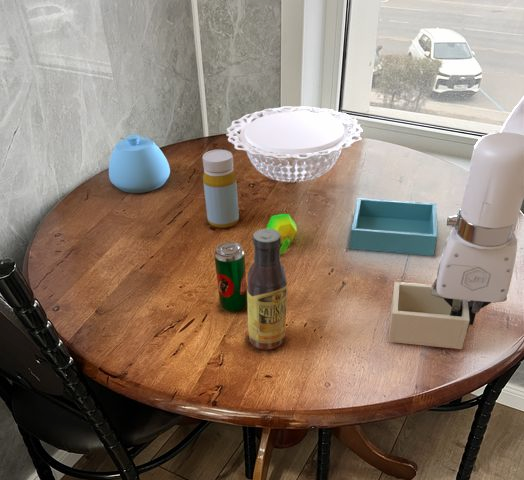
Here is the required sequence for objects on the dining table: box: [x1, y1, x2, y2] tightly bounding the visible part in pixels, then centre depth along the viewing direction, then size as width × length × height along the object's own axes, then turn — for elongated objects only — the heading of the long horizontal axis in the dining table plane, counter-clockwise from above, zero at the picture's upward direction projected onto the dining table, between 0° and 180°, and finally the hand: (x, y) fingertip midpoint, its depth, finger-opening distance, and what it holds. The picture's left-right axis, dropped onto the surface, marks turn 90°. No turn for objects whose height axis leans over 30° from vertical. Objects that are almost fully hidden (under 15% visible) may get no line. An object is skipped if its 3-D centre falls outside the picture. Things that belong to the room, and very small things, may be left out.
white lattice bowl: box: [225, 105, 364, 183], centre depth 130 cm, size 32×32×13 cm
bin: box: [349, 197, 438, 257], centre depth 112 cm, size 17×14×4 cm
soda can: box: [213, 241, 248, 313], centre depth 94 cm, size 5×5×12 cm
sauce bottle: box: [246, 228, 288, 351], centre depth 84 cm, size 7×6×20 cm
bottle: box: [202, 149, 240, 229], centre depth 115 cm, size 7×7×15 cm
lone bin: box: [388, 281, 470, 350], centre depth 88 cm, size 12×8×6 cm
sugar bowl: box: [108, 133, 171, 194], centre depth 133 cm, size 15×15×12 cm
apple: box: [266, 213, 298, 256], centre depth 111 cm, size 7×6×9 cm
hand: (459, 325), depth 88 cm, fingers closed on lone bin, 1 cm apart
